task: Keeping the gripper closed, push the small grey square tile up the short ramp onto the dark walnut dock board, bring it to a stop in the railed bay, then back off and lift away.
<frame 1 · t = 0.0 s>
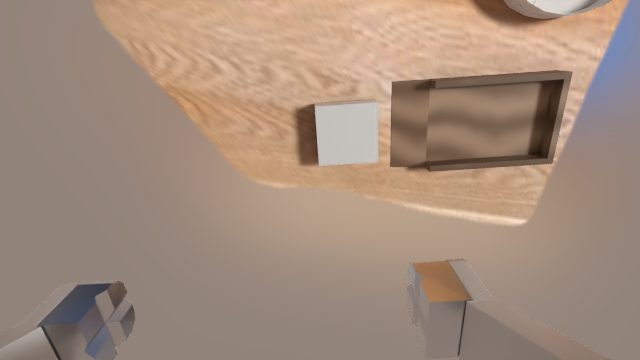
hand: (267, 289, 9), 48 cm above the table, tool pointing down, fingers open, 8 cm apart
dock: (472, 121, 56), on the table
grey square tile: (345, 129, 56), on the table
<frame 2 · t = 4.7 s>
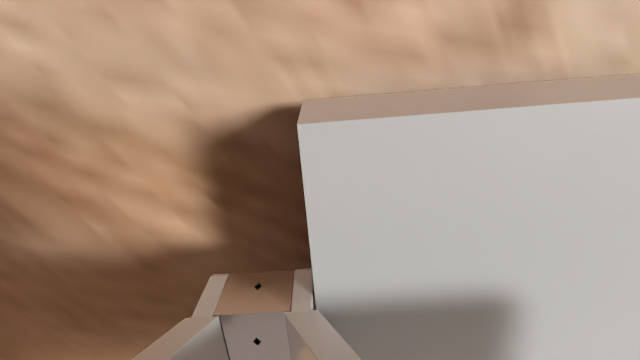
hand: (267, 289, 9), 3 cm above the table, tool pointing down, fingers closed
grey square tile: (456, 226, 12), on the table, touching gripper
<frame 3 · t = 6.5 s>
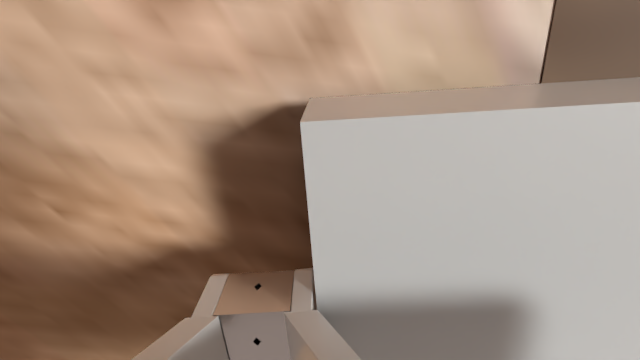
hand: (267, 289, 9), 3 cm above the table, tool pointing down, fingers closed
grey square tile: (463, 228, 11), on the table, touching dock, gripper
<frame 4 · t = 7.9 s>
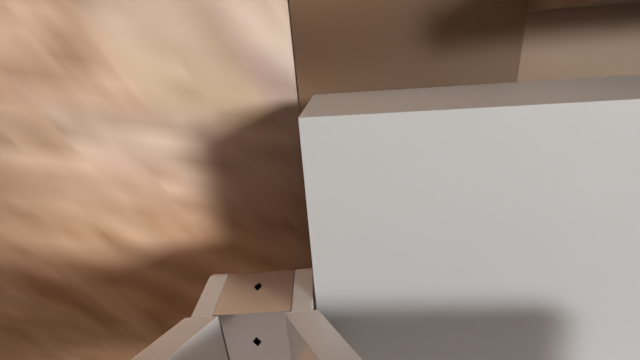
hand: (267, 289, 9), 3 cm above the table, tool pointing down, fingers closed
grey square tile: (474, 231, 11), point 1 cm above the table, tilted 5°, touching dock, gripper
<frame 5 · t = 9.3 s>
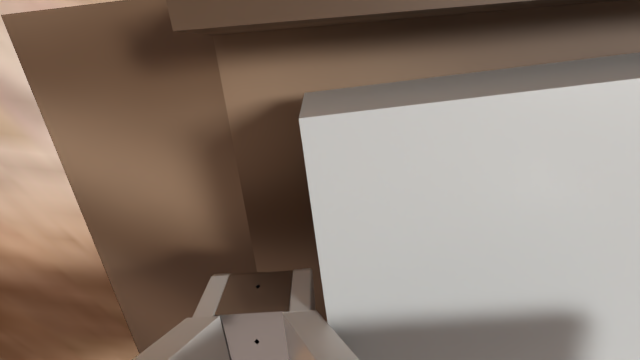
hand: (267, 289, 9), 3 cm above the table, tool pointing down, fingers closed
dock: (479, 215, 12), on the table
grey square tile: (477, 226, 11), point 1 cm above the table, touching gripper
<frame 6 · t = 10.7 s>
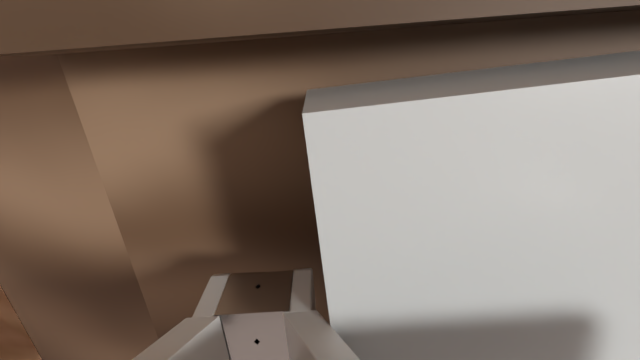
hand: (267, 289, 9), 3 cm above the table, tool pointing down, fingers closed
dock: (365, 230, 12), on the table
grey square tile: (480, 226, 10), point 1 cm above the table, touching dock, gripper
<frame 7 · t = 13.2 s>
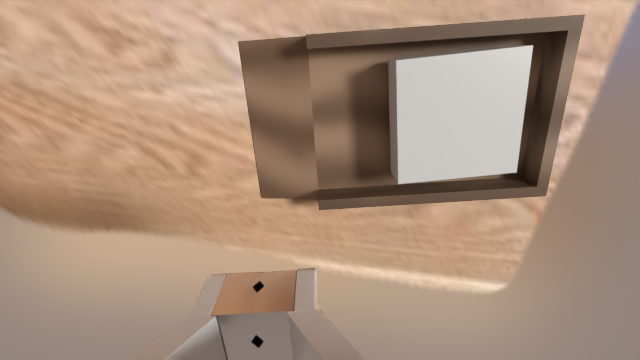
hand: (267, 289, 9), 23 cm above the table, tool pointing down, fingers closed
dock: (398, 117, 30), on the table
grey square tile: (442, 111, 29), point 1 cm above the table, touching dock
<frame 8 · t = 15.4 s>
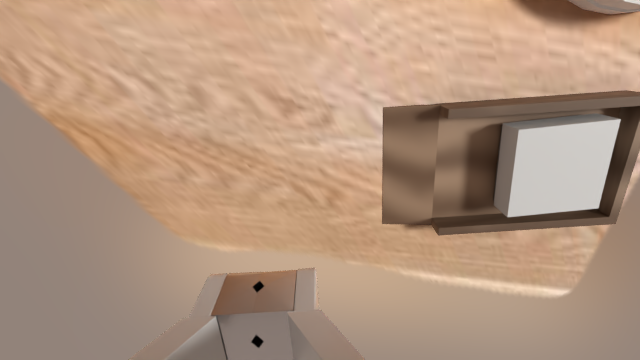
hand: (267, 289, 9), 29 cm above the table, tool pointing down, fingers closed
dock: (499, 162, 39), on the table
grey square tile: (536, 159, 38), point 1 cm above the table, touching dock
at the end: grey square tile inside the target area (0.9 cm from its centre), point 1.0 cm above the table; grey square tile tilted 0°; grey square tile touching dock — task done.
